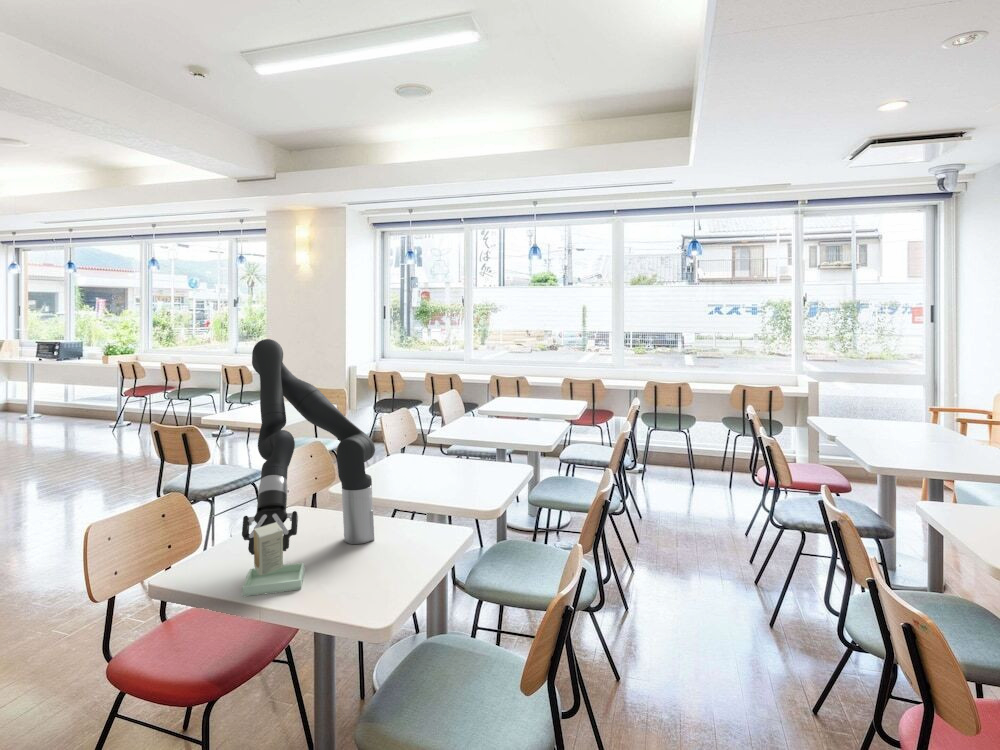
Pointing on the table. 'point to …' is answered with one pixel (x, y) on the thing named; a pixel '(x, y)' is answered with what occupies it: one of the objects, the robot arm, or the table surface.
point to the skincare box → (268, 548)
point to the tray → (274, 580)
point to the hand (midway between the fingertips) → (268, 551)
